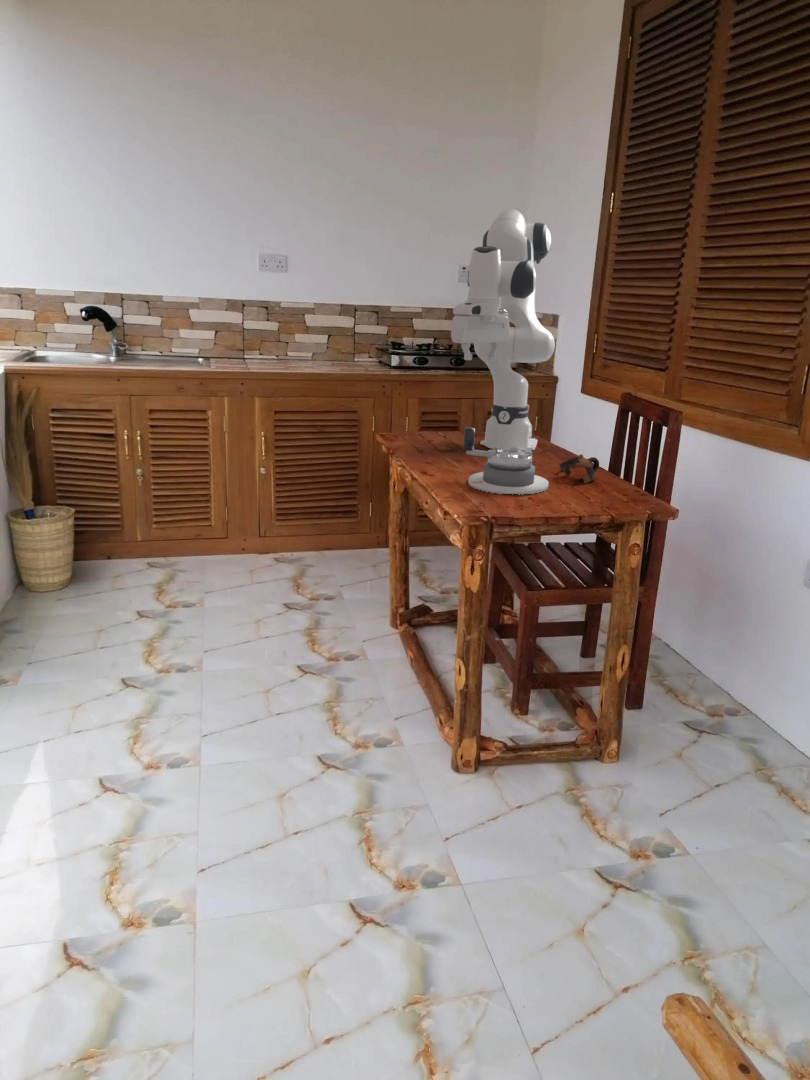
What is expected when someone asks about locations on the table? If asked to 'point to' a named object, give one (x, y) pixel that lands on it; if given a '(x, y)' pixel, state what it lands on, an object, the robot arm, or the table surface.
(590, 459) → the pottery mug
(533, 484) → the base plate
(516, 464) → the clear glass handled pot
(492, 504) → the table surface
